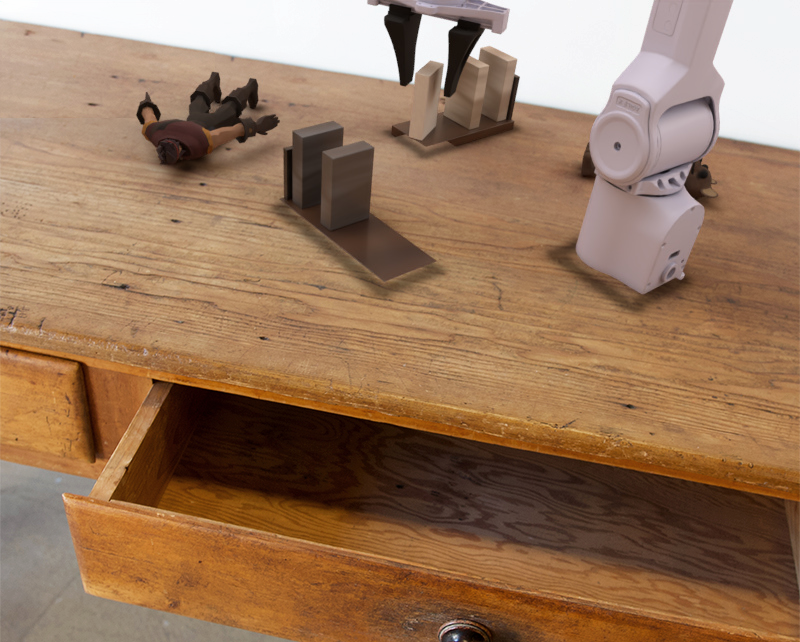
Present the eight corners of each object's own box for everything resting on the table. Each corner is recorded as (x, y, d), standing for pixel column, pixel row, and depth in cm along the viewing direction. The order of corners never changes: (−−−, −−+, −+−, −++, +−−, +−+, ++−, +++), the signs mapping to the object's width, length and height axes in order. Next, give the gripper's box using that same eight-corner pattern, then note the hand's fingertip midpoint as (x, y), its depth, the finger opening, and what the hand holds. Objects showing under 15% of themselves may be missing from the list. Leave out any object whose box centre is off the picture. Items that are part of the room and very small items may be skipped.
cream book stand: (513, 128, 91) (526, 60, 86) (425, 154, 84) (434, 81, 78) (478, 110, 94) (489, 42, 89) (390, 133, 87) (397, 61, 82)
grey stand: (435, 270, 68) (448, 187, 62) (383, 291, 65) (391, 206, 59) (329, 192, 76) (332, 113, 70) (278, 207, 73) (277, 126, 67)
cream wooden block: (436, 126, 87) (444, 63, 82) (421, 140, 84) (429, 76, 79) (422, 122, 88) (430, 60, 83) (408, 137, 84) (415, 73, 80)
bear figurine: (597, 113, 89) (727, 128, 86) (590, 148, 92) (717, 165, 89) (573, 178, 76) (726, 199, 73) (567, 217, 79) (713, 239, 76)
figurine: (174, 101, 90) (91, 166, 75) (171, 63, 87) (84, 123, 72) (297, 123, 89) (238, 193, 73) (298, 85, 86) (237, 150, 71)
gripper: (357, -61, 72) (351, 84, 81) (504, -30, 69) (479, 117, 78) (387, -74, 77) (377, 64, 86) (524, -46, 74) (499, 94, 83)
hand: (427, 88), depth 82 cm, fingers open, 4 cm apart
